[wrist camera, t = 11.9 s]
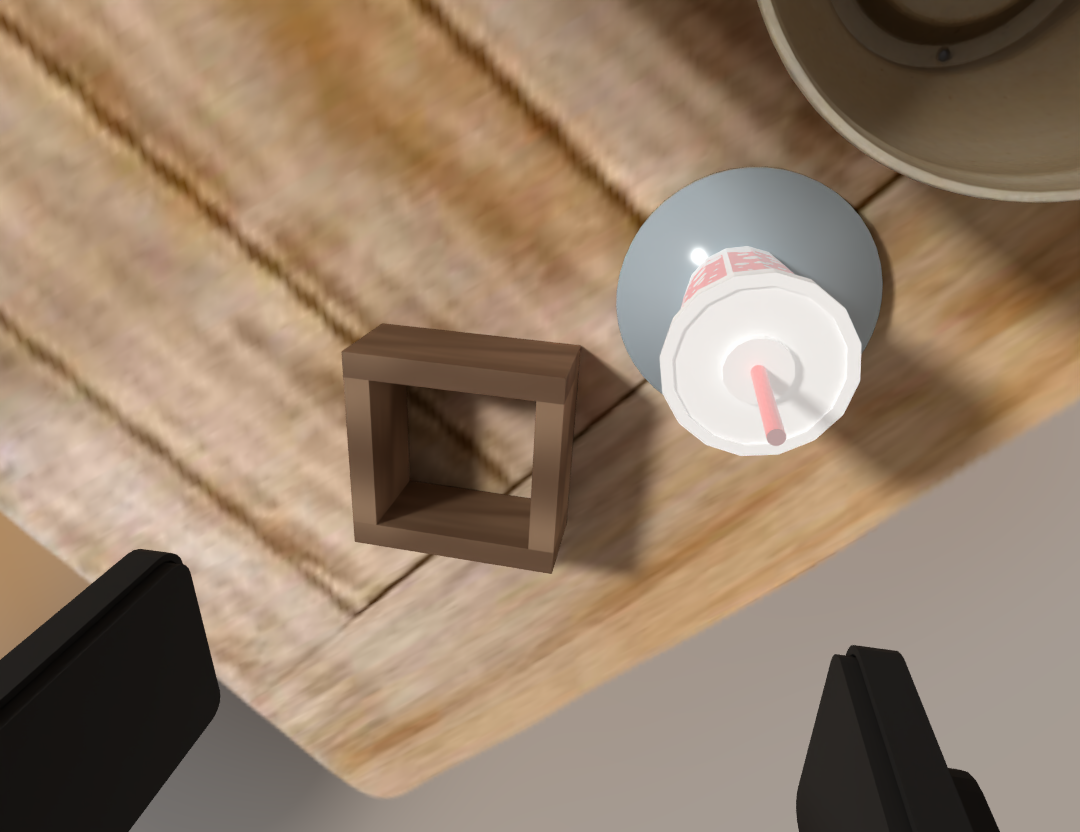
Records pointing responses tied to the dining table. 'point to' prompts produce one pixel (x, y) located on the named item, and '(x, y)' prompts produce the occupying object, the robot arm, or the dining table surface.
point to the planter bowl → (945, 87)
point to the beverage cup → (758, 356)
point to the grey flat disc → (736, 221)
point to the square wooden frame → (441, 511)
